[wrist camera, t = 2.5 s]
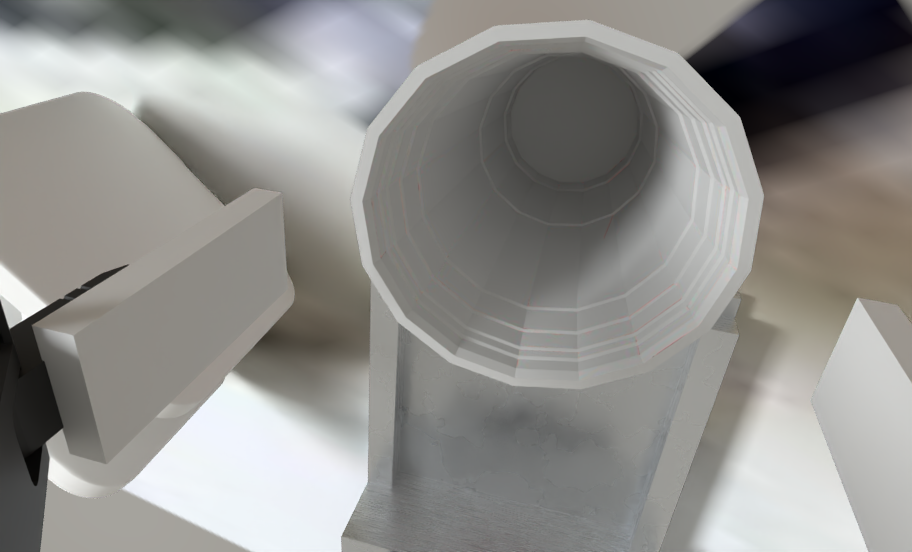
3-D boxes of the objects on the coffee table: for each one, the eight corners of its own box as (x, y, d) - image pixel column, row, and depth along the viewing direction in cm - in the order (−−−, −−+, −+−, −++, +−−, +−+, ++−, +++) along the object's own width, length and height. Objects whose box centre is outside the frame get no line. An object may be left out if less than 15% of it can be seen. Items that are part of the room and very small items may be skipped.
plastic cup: (606, 281, 30) (592, 462, 19) (414, 158, 29) (295, 277, 19) (775, 83, 24) (881, 189, 14) (540, -74, 24) (469, -84, 13)
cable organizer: (325, 292, 34) (199, 437, 24) (224, 376, 39) (85, 524, 29) (115, 78, 31) (-128, 143, 21) (34, 199, 36) (-192, 297, 26)
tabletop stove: (385, 228, 31) (261, 372, 21) (739, 292, 28) (801, 498, 18) (378, 519, 42) (293, 711, 32) (634, 589, 39) (634, 825, 29)
